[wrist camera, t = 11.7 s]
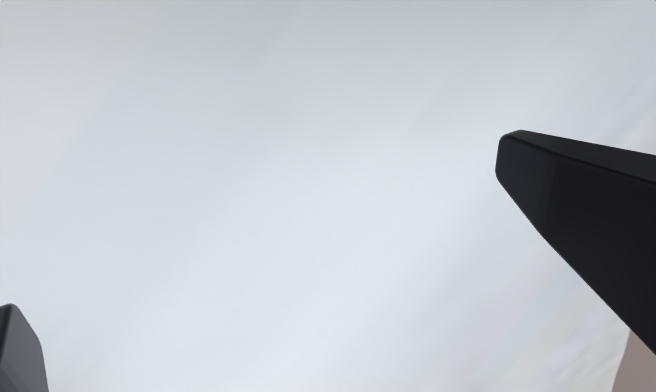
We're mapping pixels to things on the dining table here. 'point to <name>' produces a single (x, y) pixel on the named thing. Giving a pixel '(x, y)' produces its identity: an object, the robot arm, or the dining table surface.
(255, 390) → the dining table surface
